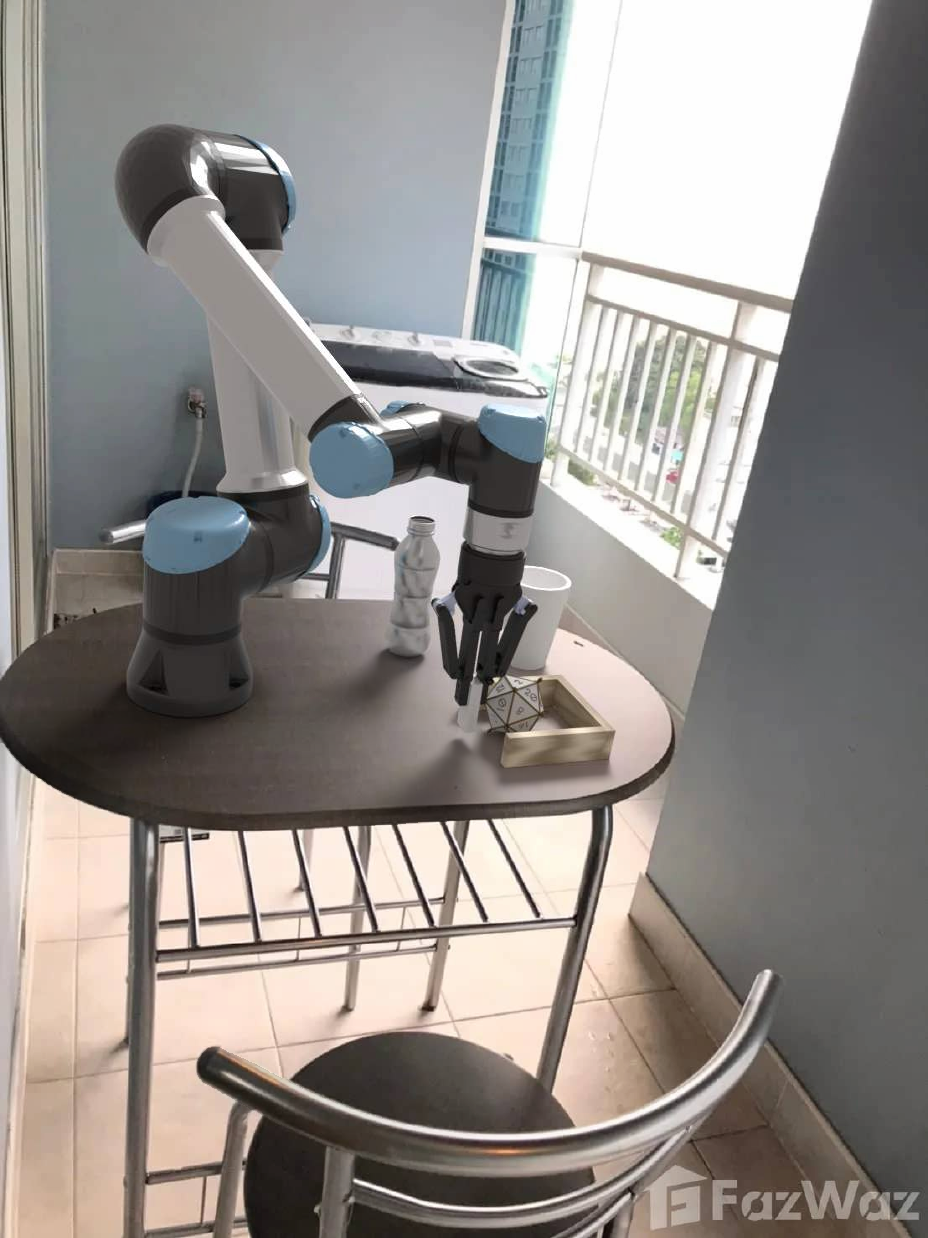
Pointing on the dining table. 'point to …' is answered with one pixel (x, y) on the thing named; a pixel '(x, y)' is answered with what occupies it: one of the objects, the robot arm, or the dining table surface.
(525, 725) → the game die
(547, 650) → the foam cup
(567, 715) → the corral
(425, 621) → the plastic bottle
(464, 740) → the dining table surface
